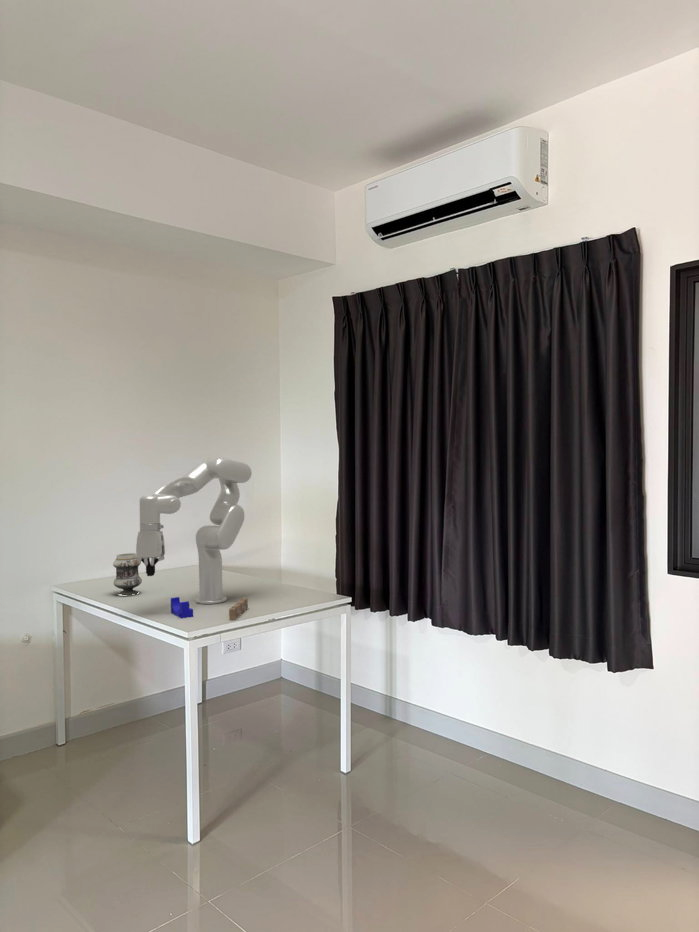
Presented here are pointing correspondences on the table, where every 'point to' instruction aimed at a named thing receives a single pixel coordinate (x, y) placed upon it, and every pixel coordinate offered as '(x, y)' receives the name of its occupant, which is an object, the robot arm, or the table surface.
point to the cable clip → (181, 608)
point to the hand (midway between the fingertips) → (150, 575)
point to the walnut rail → (238, 608)
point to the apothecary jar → (127, 573)
